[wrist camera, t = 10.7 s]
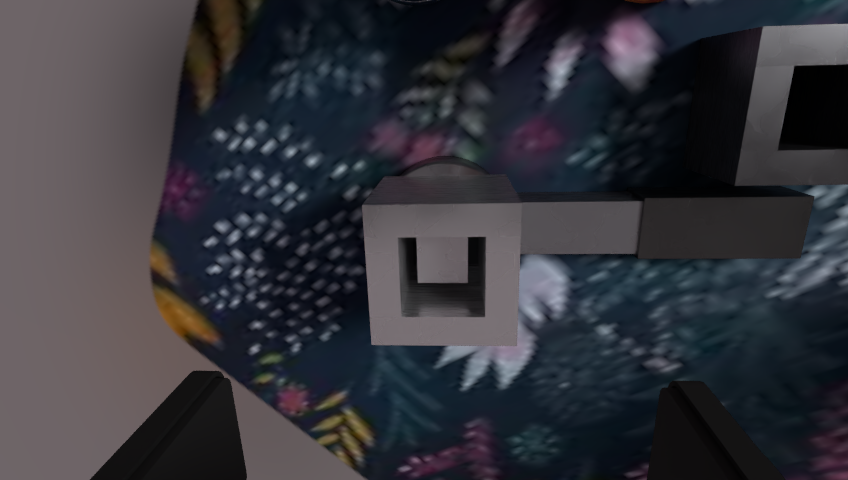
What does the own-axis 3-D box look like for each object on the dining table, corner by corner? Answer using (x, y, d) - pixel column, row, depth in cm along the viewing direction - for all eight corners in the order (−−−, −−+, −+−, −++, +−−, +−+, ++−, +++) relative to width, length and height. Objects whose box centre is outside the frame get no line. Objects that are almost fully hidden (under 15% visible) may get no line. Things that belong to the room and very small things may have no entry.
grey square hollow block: (837, 34, 23) (935, 21, 18) (807, 165, 25) (890, 184, 20) (701, 38, 24) (763, 26, 19) (682, 167, 26) (734, 185, 21)
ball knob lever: (787, 150, 25) (907, 173, 18) (761, 273, 27) (860, 334, 20) (381, 156, 26) (357, 180, 20) (387, 273, 29) (367, 330, 22)
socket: (505, 174, 23) (521, 203, 18) (502, 287, 25) (516, 345, 19) (384, 176, 24) (361, 205, 18) (390, 287, 26) (371, 344, 20)
